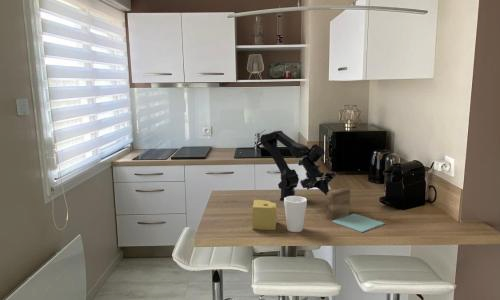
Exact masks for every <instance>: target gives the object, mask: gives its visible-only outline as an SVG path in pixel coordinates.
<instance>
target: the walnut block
mask: <svg viewBox="0 0 500 300" xmlns="http://www.w3.org/2000/svg"><path fill="white" fill-rule="evenodd" d="M350 198H351V189H350V188H346V187H343V188H339V189H335V190H331V191H329V192H327V195H326V209H325V211H326V214H325V218H326V219H328V220H329V221H333V220H336V219H339V218H342V217H345V216H348V215H350V203H351V202H350V200H351V199H350Z"/></svg>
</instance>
